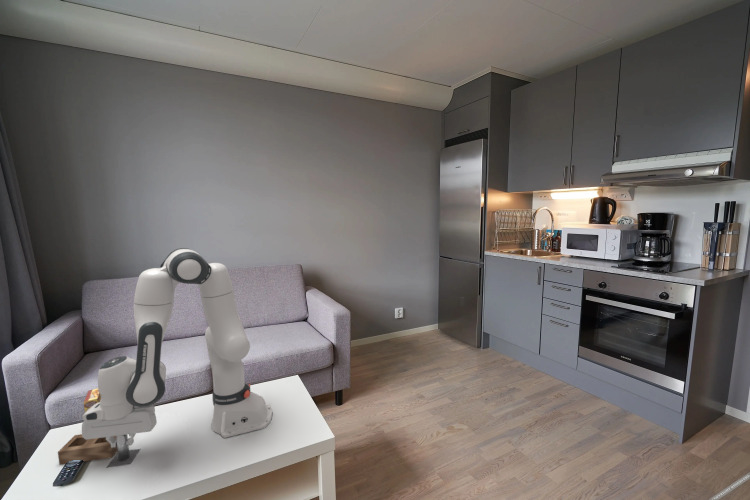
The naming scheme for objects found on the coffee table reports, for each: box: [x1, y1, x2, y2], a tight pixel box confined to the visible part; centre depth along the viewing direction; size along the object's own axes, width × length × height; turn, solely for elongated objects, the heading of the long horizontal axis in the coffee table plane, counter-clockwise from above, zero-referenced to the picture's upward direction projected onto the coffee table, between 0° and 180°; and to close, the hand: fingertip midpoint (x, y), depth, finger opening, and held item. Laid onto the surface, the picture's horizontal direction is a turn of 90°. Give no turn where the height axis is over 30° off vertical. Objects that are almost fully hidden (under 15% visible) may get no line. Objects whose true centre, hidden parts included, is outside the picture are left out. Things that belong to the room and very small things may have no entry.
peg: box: [116, 434, 130, 461], centre depth 107 cm, size 3×3×10 cm
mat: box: [105, 448, 141, 469], centre depth 108 cm, size 7×7×1 cm
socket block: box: [57, 433, 118, 466], centre depth 110 cm, size 15×8×5 cm, turn 102°
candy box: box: [83, 387, 101, 413], centre depth 120 cm, size 9×4×15 cm, turn 33°
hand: (122, 445), depth 107 cm, fingers closed on peg, 3 cm apart
